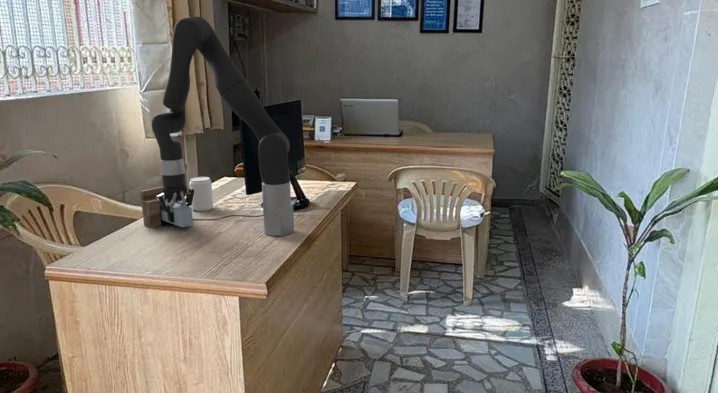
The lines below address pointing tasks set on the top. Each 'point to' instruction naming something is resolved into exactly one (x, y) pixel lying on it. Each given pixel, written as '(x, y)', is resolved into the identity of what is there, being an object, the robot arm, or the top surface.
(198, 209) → the beverage can
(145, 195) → the headboard
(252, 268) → the top surface
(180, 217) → the grey rectangular block
